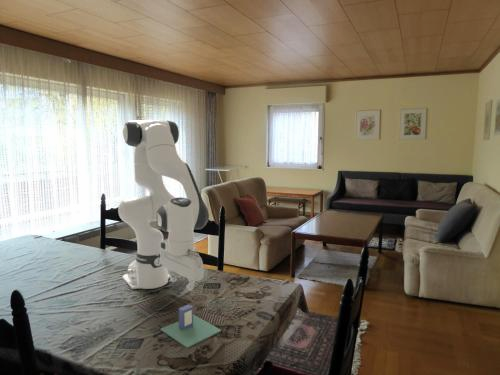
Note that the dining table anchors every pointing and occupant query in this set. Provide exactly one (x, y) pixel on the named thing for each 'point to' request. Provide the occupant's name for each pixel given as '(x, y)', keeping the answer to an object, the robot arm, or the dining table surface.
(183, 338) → the mat
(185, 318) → the block
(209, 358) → the dining table surface
